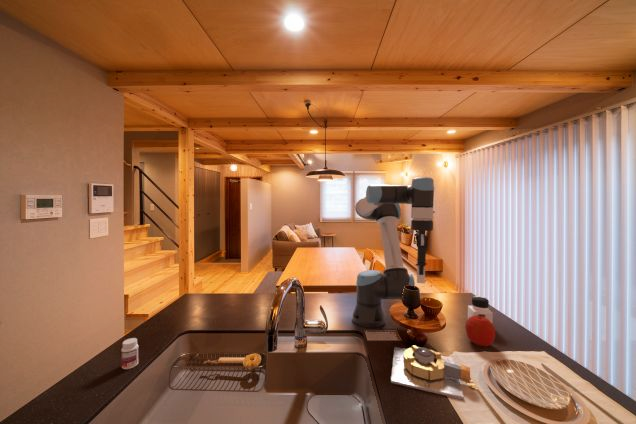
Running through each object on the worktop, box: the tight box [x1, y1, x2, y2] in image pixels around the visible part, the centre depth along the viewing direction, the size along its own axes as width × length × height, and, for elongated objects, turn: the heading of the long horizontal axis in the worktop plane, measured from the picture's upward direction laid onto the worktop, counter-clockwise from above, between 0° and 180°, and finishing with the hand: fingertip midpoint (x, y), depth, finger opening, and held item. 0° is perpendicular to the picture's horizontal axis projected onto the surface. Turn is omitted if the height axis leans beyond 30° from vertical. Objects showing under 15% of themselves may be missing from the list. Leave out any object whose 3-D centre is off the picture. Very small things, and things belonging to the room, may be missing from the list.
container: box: [467, 295, 494, 325], centre depth 118 cm, size 8×8×13 cm
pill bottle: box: [120, 337, 140, 370], centre depth 87 cm, size 5×5×8 cm
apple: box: [464, 315, 496, 347], centre depth 102 cm, size 10×10×12 cm
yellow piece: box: [403, 344, 471, 384], centre depth 83 cm, size 19×12×4 cm, turn 58°
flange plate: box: [390, 346, 465, 401], centre depth 85 cm, size 20×20×7 cm
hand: (420, 282), depth 95 cm, fingers closed
